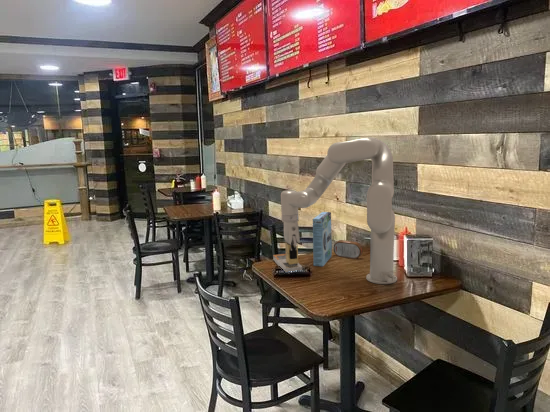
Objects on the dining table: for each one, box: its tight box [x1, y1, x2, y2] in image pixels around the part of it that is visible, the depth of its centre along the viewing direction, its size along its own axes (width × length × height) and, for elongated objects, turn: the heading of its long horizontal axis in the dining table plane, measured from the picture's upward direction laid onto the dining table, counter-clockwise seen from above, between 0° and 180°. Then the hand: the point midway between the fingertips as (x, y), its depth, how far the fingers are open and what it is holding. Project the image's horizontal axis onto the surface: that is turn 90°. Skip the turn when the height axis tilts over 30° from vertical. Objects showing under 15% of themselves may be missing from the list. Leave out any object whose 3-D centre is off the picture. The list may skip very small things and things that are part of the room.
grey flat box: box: [272, 253, 303, 272], centre depth 200 cm, size 22×8×3 cm, turn 14°
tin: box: [332, 239, 364, 260], centre depth 212 cm, size 15×3×8 cm, turn 58°
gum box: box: [312, 211, 333, 267], centre depth 205 cm, size 20×5×23 cm, turn 160°
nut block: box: [284, 242, 299, 264], centre depth 193 cm, size 4×4×9 cm
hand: (291, 256), depth 193 cm, fingers closed on nut block, 4 cm apart
